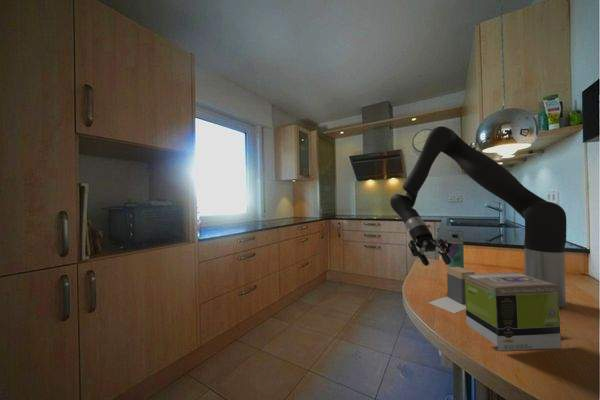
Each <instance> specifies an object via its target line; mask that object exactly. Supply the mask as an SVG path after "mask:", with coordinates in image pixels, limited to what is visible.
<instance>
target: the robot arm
mask: <svg viewBox="0 0 600 400" xmlns="http://www.w3.org/2000/svg"><path fill="white" fill-rule="evenodd" d="M441 153H443V154H445V155H446V156H448V157H449V158H451V159H452V160H453V161H455V163H456V164H458V165H459V167H460V168H461V170H462V171H463V172H464V173H465V174H466V175H467V176H468V177H469V178H470V179H471V180H473V181H474V182H475V183H476V184H478V185H479V186H480V187H482V188H483V189H485V190H486V191H487V192H489V193H490V194H492V195H494V196H495V197H498V198H499V199H501V200H503V201H504V202H505V203H506V204H508V205H509V206H510V207H511V208H512V209H513V210H514V211H516V212H517V214H518V215H520V217H522V218H523V220H524V239H523V241H524V242H523V243H524V245H523V247H524V248H523V249H524V275H526V276H529V277H533V278H536V279H539V280H543V281H546V282H549V283H553V284H556V285H558V297H559V309H560V308H561V309H562V308H566V304H567V303H566V244H567V215H566V214H567V213H566V211H565V210H564V208H563V207H562V206H560V205H559V204H557V203H555V202H552V201H548V200H546V199H544V198H542V197H541V196H539V195H537V194H536V193H534V192H533V191H531V190H530V189H528V188H527V187H525V186H524V185H523V184H522V183H521V181H519V180H518V178H516V177H515V175H513V174H512V173H511V172H510V171H509V170H508V169H506V168H505V167H504V166H503V165H501V164H499V162H497V161H496V160H494V159H493V158H491V157H490V156H488V155H486V154H484V153H483V152H481V151H479V150H477V149H475V148H473V147H472V146H470V145H469V144H468V143H466V142H465V141H464V139H462V138H461V137H460V136H459V135H458V134H457V133H456V132H455V131H454V130H453V129H451V128H449V127H447V126H443V125H440V126H436V127H434V128H433V129H431V131H429V133H428V135H427V137H426V139H425V142H424V144H423V147H422V150H421V152H420V154H419V156H418V159H417V161H416V162H415V163H414V166H413V167H412V170H411V171H410V173H409V175H408V176H407V178H406V180H405V182H404V183H403V185H402V189H403V191H405V192H406V194H405V195H404V194H400V193H396V194H393V195H392V196H391V197H390V200H389V203H390V206H391V208H392V210H393V211H394V212H395V213H396V214H397V215H398V216H399V217H400V218H401V219H402V222H403V223H404V224H403V225H405V227H406V230H407V232H408V234H409V236H410V237H411V240H410V241H409V242H408V245H407V246H408V247H409V249H410V253H411V255H412V256H413V257H418V258H419V259H420V261H421V263H422V264H423V266H425V267H428V266H429V265H430V261H429V259H428V258H427V256H426V254H424V253H429V252H430V253H431V252H433V253H434V254H438V256H441V259H442V261H443V262H444V264H445V265H446V266H448V265H449V264H450V263H451V260H450V258H449V257H448V253H449V252H450V249H449V248H448V247H447V244H446V242H445V241H444V240H443V239H442V238H439V239H438V240H436V239H434V236H433V234H432V232H431V230H430V229H429V227H428V226H427V224H426V222H425V221H424V219H422V217H421V215H420V214H419V213H418V211H417V210H416V209H415V208H414V206H415V204H416V201H417V197H418V194H419V192H420V189H421V188H422V187H423V185H424V183H425V182H426V180H427V178H428V176H429V173H430V171H431V168H432V166H433V164H434V162H435V161H436V159H437V157H438V156H439V155H440V154H441Z"/></svg>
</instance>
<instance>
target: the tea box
mask: <svg viewBox="0 0 600 400" xmlns="http://www.w3.org/2000/svg"><path fill="white" fill-rule="evenodd" d="M465 295H466V309H465V316H466V317H465V318H466V319H465V320H466V322H465V323H466V325H467V326H468V327H470V328H471V329H472V330H474V331H475V332H477V333H478V334H480V335H481V336H482V337H484V338H485V339H486V340H488V341H490V342H491V343H492V344H494V345H495V346H492V347H493V348H494V349H495V350H496V351H498V352H499V351H500V352H501V351H502V352H503V351H522V350H523V351H525V350H527V351H528V350H548V349H553V350H554V349H562V340H561V338H562V337H561V318H560V308H559V297H558V285H556V284H553V283H549V282H546V281H543V280H539V279H536V278H533V277H529V276H526V275H525V274H523V273H519V272H502V273H501V272H496V273H474V274H466V275H465Z"/></svg>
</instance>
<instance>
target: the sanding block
mask: <svg viewBox="0 0 600 400" xmlns="http://www.w3.org/2000/svg"><path fill="white" fill-rule="evenodd" d="M446 269H447V270H446V272H447V273H446V275H447V278H446V280H447V282H446V284H447V285H446V286H447V296H448V297H449V298H451V299H452V300H454V301H456V302H458V303H460V304H462V305H464V304H466V295H465V275H466V274H475V271H472V270H469V269H466V268H465V267H464V268H461V267H448V266H447V267H446Z"/></svg>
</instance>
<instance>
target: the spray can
mask: <svg viewBox="0 0 600 400" xmlns="http://www.w3.org/2000/svg"><path fill="white" fill-rule="evenodd" d="M446 245H447V247H448V248H449V249H450V252H449V253H448V254H447V255H448V257H449V258H450V260H451V263H450V264H449V265H447V267H461V268H464V269H465V267H464V265H465V259H464V257H465V255H464V254H465V253H464V249H465V247H464V240H463V239H461V238H460V237H459V236H458V233H452V236H451V237H449V238H448V239H447V244H446Z"/></svg>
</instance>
